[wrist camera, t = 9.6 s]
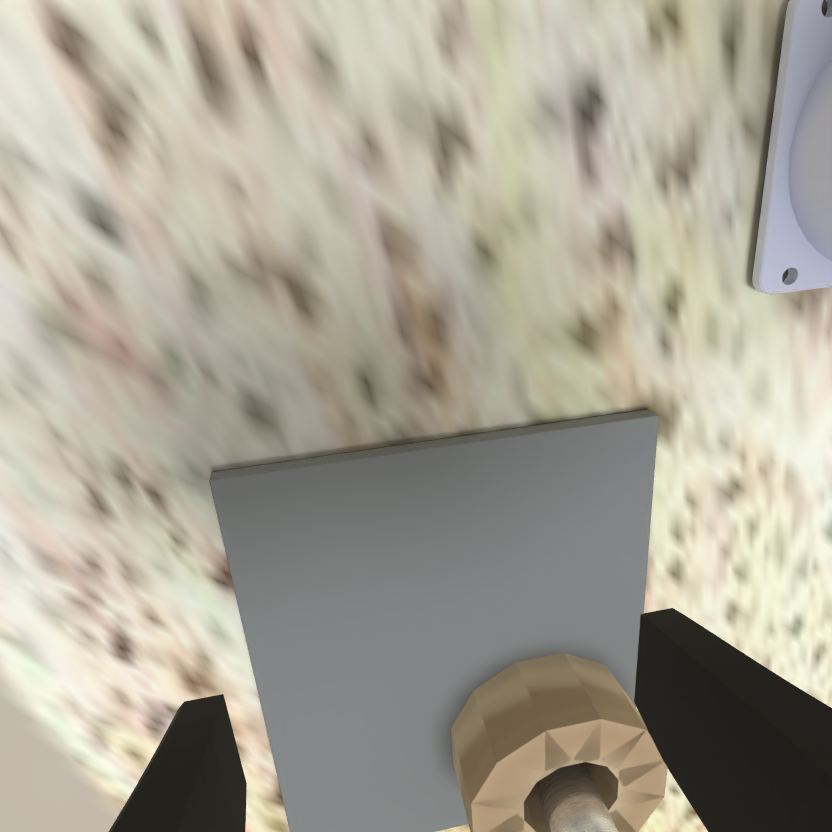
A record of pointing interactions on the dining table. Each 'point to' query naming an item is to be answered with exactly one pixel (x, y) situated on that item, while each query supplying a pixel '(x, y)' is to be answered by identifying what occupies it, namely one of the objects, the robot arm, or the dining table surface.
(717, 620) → the dining table surface
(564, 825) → the steel peg
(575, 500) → the mat
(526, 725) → the maple bead
